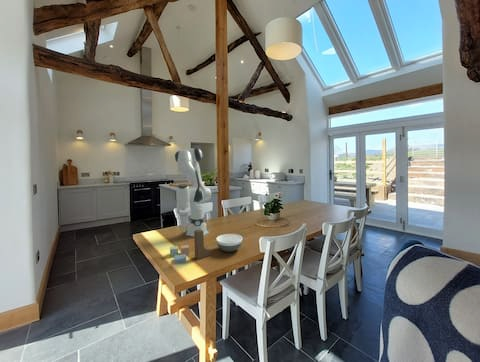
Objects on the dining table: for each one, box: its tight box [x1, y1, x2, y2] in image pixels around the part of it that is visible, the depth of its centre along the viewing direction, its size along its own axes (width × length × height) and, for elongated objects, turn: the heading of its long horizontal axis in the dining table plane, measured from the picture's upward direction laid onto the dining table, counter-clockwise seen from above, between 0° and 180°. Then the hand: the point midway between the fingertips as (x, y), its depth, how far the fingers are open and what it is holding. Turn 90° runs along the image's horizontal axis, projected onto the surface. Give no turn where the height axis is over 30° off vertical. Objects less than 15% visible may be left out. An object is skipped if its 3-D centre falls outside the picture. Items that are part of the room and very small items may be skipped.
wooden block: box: [193, 229, 211, 260], centre depth 148 cm, size 9×4×18 cm, turn 130°
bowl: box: [215, 233, 244, 253], centre depth 160 cm, size 19×19×8 cm
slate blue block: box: [174, 253, 187, 265], centre depth 143 cm, size 7×7×2 cm
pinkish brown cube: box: [180, 244, 190, 256], centre depth 153 cm, size 5×5×5 cm
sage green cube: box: [169, 245, 179, 258], centre depth 152 cm, size 5×5×5 cm
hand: (184, 229), depth 152 cm, fingers open, 8 cm apart
